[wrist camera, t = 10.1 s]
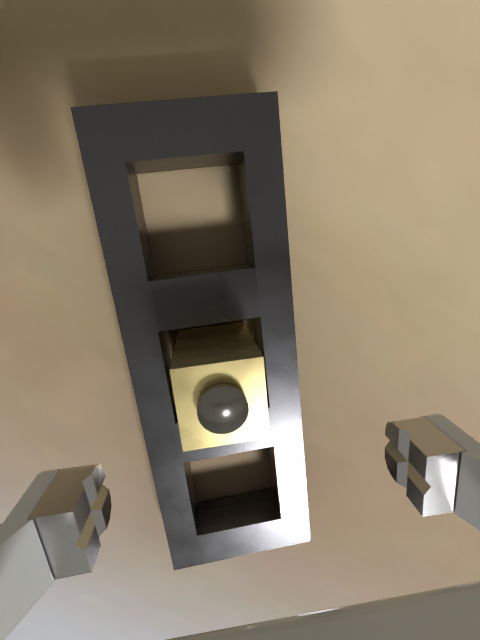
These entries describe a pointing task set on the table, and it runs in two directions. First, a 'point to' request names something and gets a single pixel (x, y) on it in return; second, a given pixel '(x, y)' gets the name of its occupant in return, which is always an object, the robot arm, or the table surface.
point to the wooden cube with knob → (219, 387)
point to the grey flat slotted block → (203, 305)
